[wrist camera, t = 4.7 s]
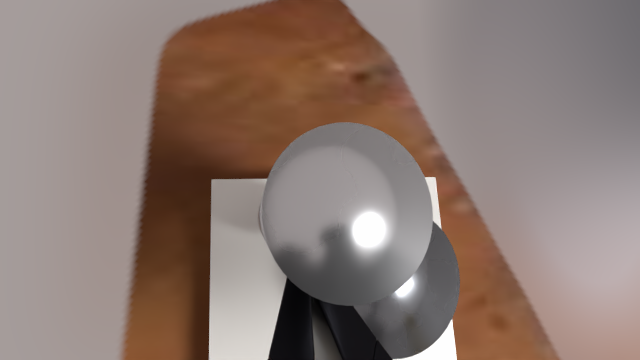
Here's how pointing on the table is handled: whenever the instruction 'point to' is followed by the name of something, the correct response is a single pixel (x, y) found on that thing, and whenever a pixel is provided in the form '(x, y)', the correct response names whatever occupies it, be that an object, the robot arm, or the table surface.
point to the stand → (260, 277)
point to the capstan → (362, 233)
